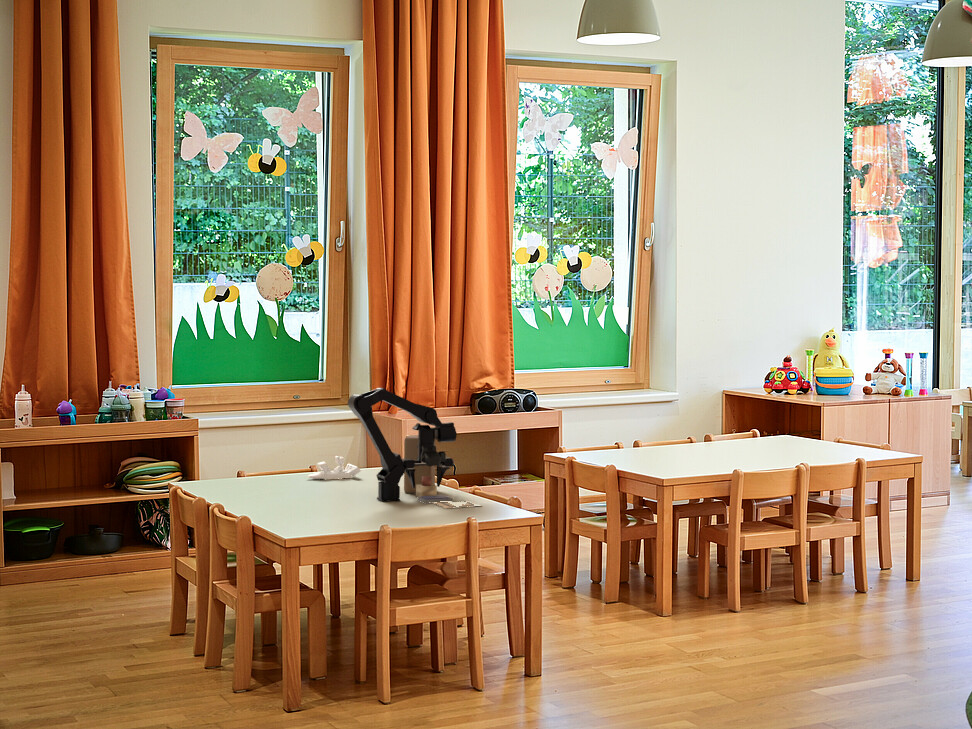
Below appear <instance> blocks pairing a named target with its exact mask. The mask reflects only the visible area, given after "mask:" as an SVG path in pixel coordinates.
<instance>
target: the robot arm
mask: <svg viewBox="0 0 972 729" xmlns="http://www.w3.org/2000/svg"><path fill="white" fill-rule="evenodd" d="M381 401H382V402H385V403H387V404H389V405H391V406H393V407H396V408H397V409H400V410H402V411H404V412H407V413H408V414H409V415H410V416H412V417H413V418H415V420H417V421H418V422H416V424H415V425H414V426H412V430H414V431H418V432H417V435H418V445H417V448H418V457H417V460H415V461H414V460H413V459H410V458H408V459H404V458H402V456H401V454H400V453H396V452H393V451H392V449H391V447H390V446H389V444H388V442H387V440H386V438H385V436H384V434H383V432H382V430H381V429H380V427H379V425H378V423H377V421H376V420H375V417H374V414H373V408H372V406H374V405H376V404H378V403H379V402H381ZM347 406H348V408H349V409H350V410H351V412H352V414H354V416H356V418H358V420H359V421H361V423H362V425H363V427H364V429H365V431H366V432H367V434H368V436H369V438H370V440H371V441H372V444H373V445H374V447H375V449H376V451H377V453H378V456H379V458H380V465H381V470H380V471H378V472H377V473H376V478H377V481H378V482H377V483H378V487H377V491H378V495H377V497H376V499H377V500H378V501H381V502H394V501H395V502H397V501H401V497H400V496H401V487H400V485H399V484H400V481H401V478H402V477H404V472H405V471H406V473H407V475H408V477H409V480H410V482H411V485H412V487H413V488H415V470H416V469H413V467H414V466H421V465H427V466H430V467H431V466H435V467H436V486H437V488H439V487H440V486H441V484H442V480H443V479H444V478H443V477H444V475H445V473H446V472H447V471H448V470H450V469H451V467H455V466H454V465H455V463H454V459H453V458H452V457H449V456H446V451H443V450H442V451H437V446H436V441H437V442H438V443H453V442H454V443H455V442H456V440H457V434H458V433H457V431H456V427H455V423H454V422H451V421H450V422H445V423H444V422H442V421H441V420H440V418H439V417H438V412H437V410H436V409H435V408H433V407H431V406H427V405H423V404H418V403H415V402H413V401H410V400H408V399H406V398H404V397H402V396H400V395H398V394H396V393H393V392H391V391H389V390H387V389H386V388H383V387H377V388H375V389H373V390H371V391H367V392H363V393H361V394H358V393H354V394H351V396H350V397H349V398H348V400H347ZM421 423H422V424H421ZM423 423H424V424H423ZM431 426H434V427H431ZM424 461H425V462H424ZM421 462H422V463H421Z"/></svg>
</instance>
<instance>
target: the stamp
mask: <svg viewBox="0 0 972 729" xmlns="http://www.w3.org/2000/svg"><path fill="white" fill-rule="evenodd" d="M437 488H438V487H437V484H435V485H433V484H431V476H422V484H416V493H415V498H417V497H420V496H434V495H438V493H437V492H438V491H437Z"/></svg>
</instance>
